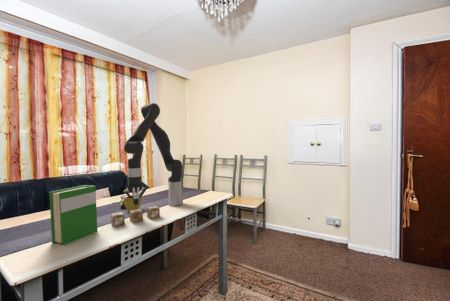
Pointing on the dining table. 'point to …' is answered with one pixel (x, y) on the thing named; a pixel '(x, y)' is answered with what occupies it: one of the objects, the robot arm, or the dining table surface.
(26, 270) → the dining table surface
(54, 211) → the hardback book
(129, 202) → the flower pot
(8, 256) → the dining table surface
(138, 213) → the plain block
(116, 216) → the labelled block
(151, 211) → the labelled block
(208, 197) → the dining table surface
